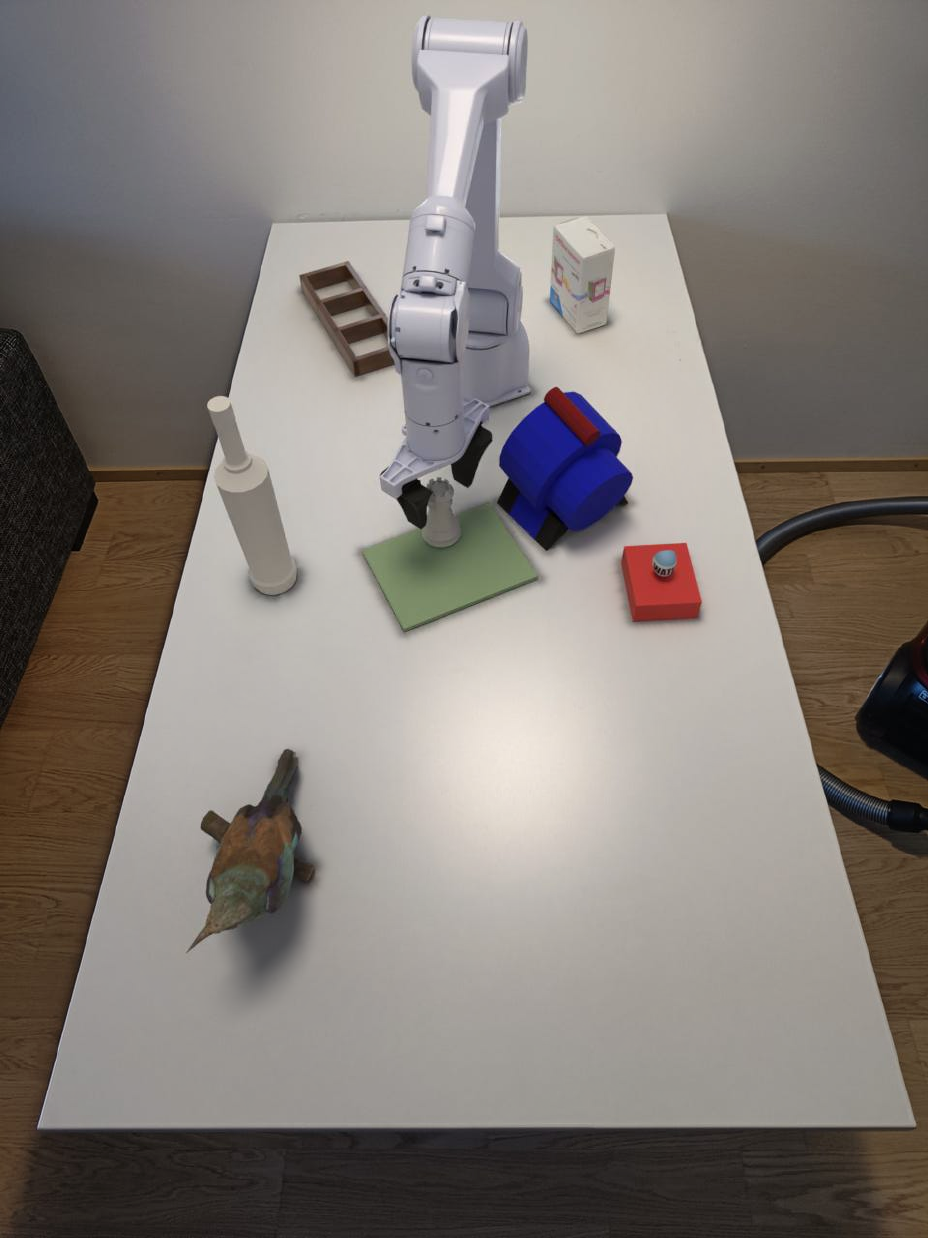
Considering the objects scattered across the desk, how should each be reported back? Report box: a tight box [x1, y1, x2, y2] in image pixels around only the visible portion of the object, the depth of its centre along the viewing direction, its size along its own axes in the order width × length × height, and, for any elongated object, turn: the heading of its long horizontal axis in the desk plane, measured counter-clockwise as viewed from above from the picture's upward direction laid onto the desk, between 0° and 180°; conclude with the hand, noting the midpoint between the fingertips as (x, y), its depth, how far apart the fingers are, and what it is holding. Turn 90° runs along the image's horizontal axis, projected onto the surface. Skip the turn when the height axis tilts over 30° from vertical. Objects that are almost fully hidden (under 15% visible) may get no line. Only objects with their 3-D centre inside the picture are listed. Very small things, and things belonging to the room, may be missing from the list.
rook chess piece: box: [422, 476, 461, 547], centre depth 97 cm, size 4×4×8 cm
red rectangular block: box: [620, 542, 703, 622], centre depth 93 cm, size 8×7×6 cm
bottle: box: [206, 395, 298, 596], centre depth 87 cm, size 5×5×25 cm
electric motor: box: [496, 386, 634, 551], centre depth 97 cm, size 12×12×15 cm
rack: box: [298, 260, 395, 378], centre depth 122 cm, size 8×21×2 cm, turn 25°
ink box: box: [549, 215, 616, 334], centre depth 119 cm, size 9×5×12 cm, turn 25°
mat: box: [361, 502, 539, 633], centre depth 98 cm, size 16×12×1 cm
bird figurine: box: [185, 748, 315, 954], centre depth 75 cm, size 13×10×20 cm
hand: (440, 502), depth 96 cm, fingers open, 7 cm apart
